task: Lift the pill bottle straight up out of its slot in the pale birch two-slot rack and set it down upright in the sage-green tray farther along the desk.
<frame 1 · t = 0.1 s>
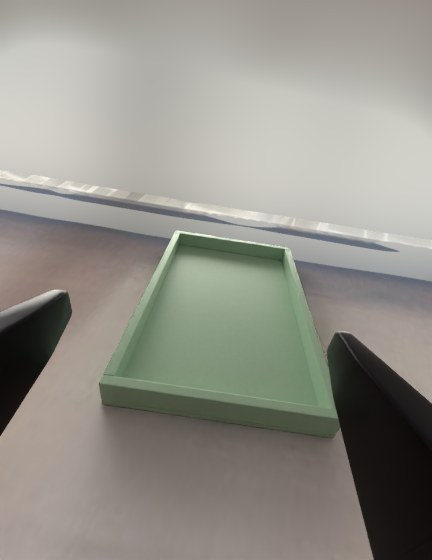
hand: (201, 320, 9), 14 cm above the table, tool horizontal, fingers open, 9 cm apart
tray: (226, 307, 33), on the table
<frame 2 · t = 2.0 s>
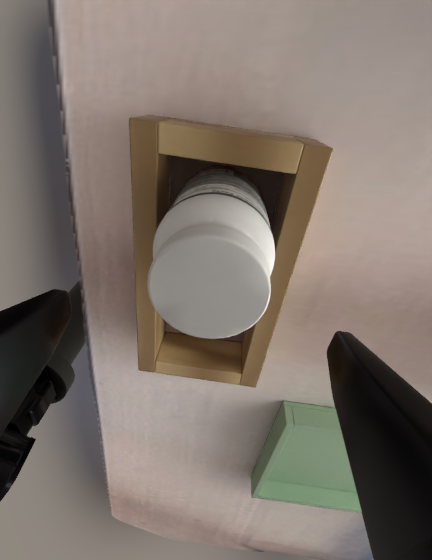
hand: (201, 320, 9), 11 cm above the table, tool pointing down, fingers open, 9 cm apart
pill bottle: (221, 208, 19), resting in rack
rack: (213, 263, 21), on the table
tray: (376, 459, 34), on the table
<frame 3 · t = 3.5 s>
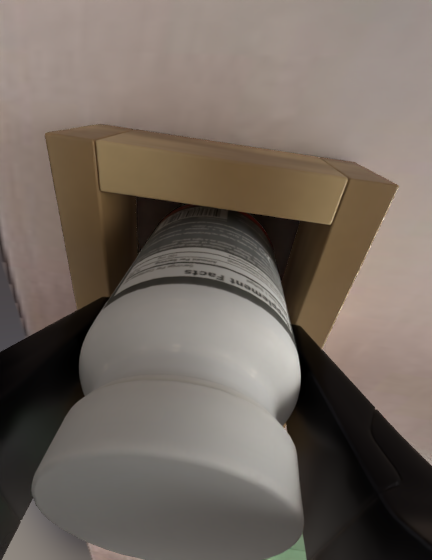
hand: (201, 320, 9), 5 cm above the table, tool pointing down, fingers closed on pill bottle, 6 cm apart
pill bottle: (212, 255, 13), resting in rack, touching gripper
rack: (202, 323, 15), on the table
tray: (402, 530, 29), on the table
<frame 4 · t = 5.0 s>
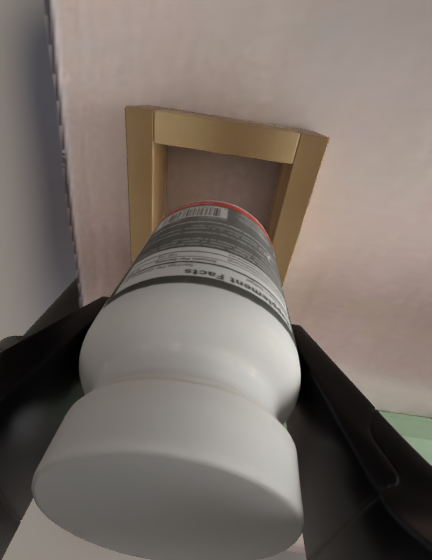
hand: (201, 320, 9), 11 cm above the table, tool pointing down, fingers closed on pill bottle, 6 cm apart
pill bottle: (212, 254, 13), point 7 cm above the table, touching gripper
rack: (210, 256, 21), on the table
tray: (373, 455, 34), on the table
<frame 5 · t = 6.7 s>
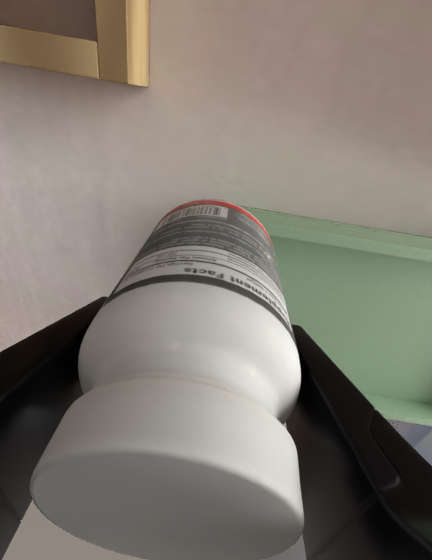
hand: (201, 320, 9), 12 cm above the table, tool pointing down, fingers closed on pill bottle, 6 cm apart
pill bottle: (212, 254, 13), point 8 cm above the table, touching gripper
tray: (350, 324, 25), on the table
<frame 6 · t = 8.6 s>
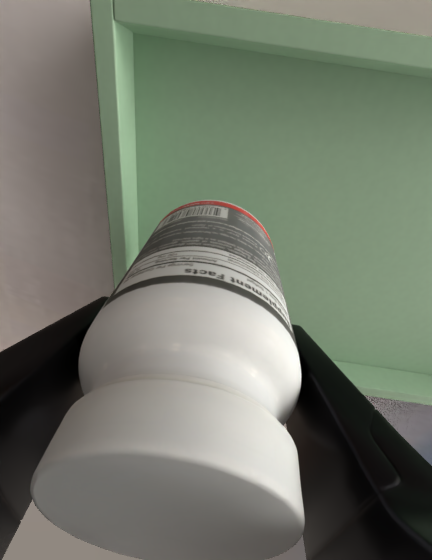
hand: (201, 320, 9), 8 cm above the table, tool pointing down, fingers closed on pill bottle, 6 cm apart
pill bottle: (212, 254, 13), point 3 cm above the table, touching gripper
tray: (368, 255, 16), on the table
when the fingers open (5 cm above the table, at t = 9.9 s): pill bottle stays where it is, resting on tray.
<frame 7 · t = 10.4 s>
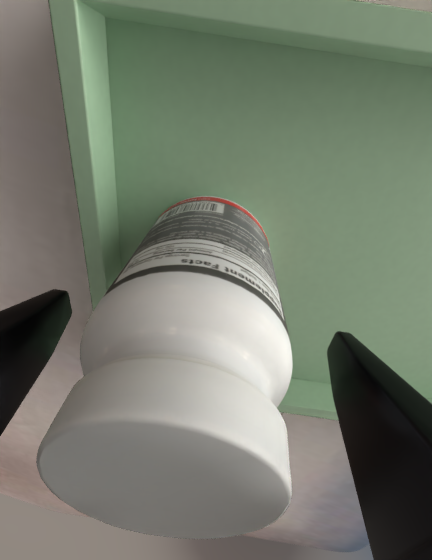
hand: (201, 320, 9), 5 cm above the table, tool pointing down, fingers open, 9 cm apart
pill bottle: (209, 249, 14), resting on tray
tray: (381, 273, 14), on the table
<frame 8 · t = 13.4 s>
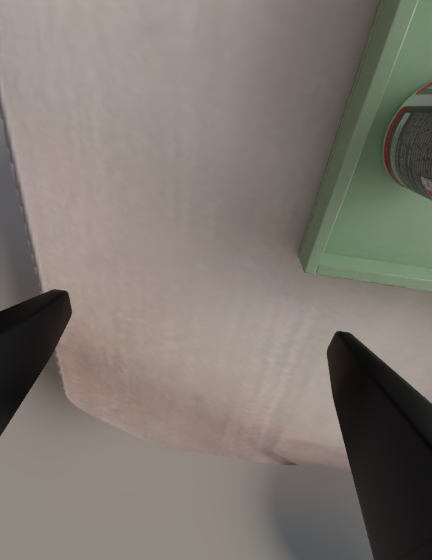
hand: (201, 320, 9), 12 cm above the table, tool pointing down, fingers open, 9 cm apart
pill bottle: (430, 135, 16), resting on tray
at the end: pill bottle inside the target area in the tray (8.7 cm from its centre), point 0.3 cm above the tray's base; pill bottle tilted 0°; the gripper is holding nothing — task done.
